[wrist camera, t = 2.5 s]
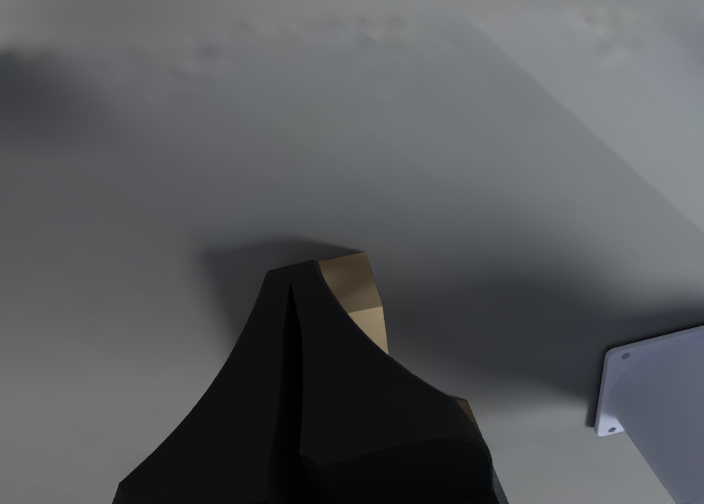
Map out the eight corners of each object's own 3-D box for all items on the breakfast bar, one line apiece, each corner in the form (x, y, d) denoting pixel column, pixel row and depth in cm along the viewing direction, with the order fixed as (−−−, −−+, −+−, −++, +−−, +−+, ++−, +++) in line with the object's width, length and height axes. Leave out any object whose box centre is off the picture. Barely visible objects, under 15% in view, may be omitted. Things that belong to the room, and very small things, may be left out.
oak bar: (364, 249, 23) (382, 306, 19) (384, 393, 28) (401, 456, 25) (276, 266, 22) (279, 327, 19) (315, 407, 28) (322, 473, 25)
